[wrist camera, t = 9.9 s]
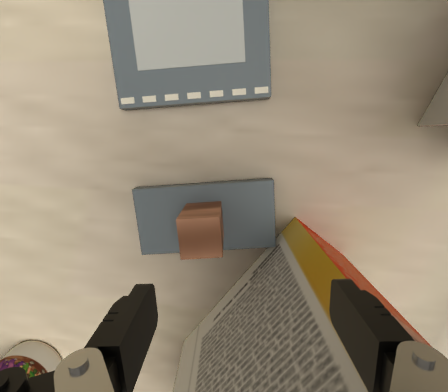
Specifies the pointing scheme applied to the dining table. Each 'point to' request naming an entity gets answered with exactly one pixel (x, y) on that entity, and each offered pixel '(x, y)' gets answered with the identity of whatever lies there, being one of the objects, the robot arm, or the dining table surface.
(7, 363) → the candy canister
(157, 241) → the blue-grey two-tone fixture
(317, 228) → the dining table surface
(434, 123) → the plain grey carton
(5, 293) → the dining table surface
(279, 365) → the pasta box
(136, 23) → the blue-grey display panel
